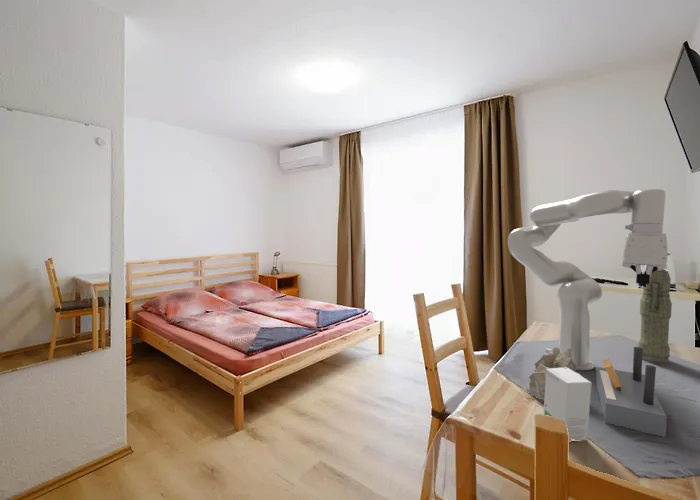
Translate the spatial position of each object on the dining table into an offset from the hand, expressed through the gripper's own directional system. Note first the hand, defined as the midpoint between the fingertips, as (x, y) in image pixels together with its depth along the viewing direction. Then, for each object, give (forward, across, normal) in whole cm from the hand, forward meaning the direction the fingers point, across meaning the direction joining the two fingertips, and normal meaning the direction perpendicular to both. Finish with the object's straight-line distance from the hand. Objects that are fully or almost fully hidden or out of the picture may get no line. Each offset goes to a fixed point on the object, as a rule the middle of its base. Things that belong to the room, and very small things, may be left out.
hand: (642, 285), depth 106 cm
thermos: (+33, +8, +28) cm, 44 cm away
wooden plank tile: (+27, -6, -18) cm, 33 cm away
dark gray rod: (+27, 0, -26) cm, 37 cm away
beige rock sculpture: (+34, -23, -19) cm, 45 cm away
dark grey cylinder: (+27, -1, -11) cm, 29 cm away
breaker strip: (+33, -4, -18) cm, 38 cm away
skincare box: (+33, -17, -42) cm, 56 cm away
